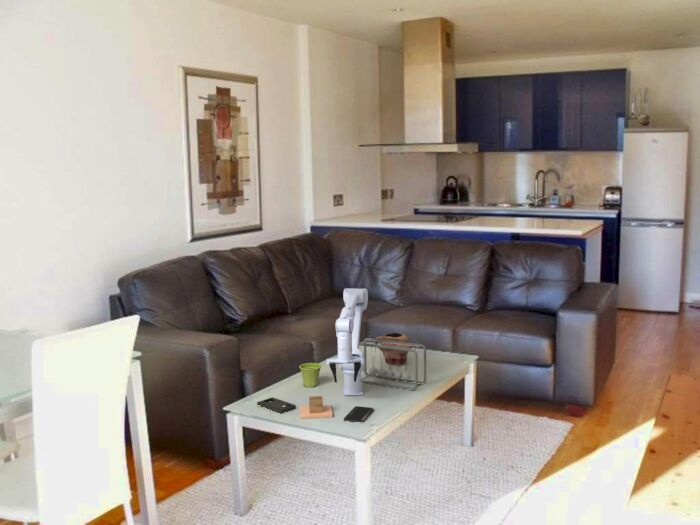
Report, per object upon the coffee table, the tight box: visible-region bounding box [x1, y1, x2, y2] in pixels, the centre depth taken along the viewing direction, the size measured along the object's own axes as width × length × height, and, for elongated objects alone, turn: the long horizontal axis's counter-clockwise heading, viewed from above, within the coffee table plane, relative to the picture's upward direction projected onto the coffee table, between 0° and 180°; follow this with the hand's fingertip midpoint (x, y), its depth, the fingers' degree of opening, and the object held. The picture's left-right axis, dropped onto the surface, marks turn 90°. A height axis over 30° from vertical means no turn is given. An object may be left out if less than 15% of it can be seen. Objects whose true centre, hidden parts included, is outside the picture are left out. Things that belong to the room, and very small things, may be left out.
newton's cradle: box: [359, 337, 427, 391], centre depth 313 cm, size 30×10×18 cm, turn 61°
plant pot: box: [298, 362, 322, 388], centre depth 312 cm, size 9×9×9 cm
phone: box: [343, 405, 375, 423], centre depth 275 cm, size 8×1×15 cm
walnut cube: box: [308, 395, 324, 413], centre depth 278 cm, size 5×5×5 cm
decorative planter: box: [374, 332, 413, 366], centre depth 344 cm, size 20×12×14 cm, turn 62°
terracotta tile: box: [300, 404, 334, 420], centre depth 279 cm, size 12×12×1 cm
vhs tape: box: [256, 396, 297, 415], centre depth 285 cm, size 14×8×2 cm, turn 47°
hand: (345, 381), depth 286 cm, fingers open, 7 cm apart
